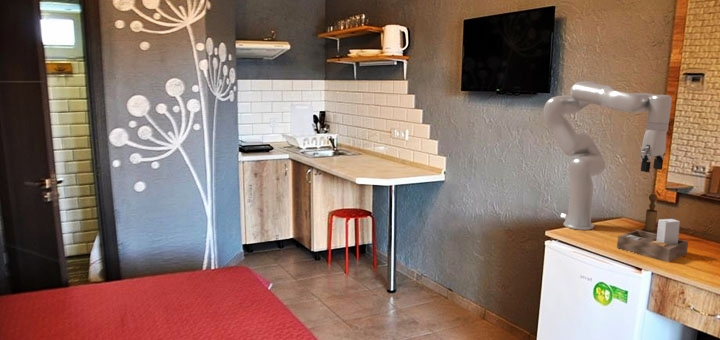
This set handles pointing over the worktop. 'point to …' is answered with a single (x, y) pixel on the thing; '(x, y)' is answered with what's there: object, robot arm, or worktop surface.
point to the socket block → (651, 246)
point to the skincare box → (668, 231)
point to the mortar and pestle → (651, 216)
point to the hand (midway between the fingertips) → (651, 170)
